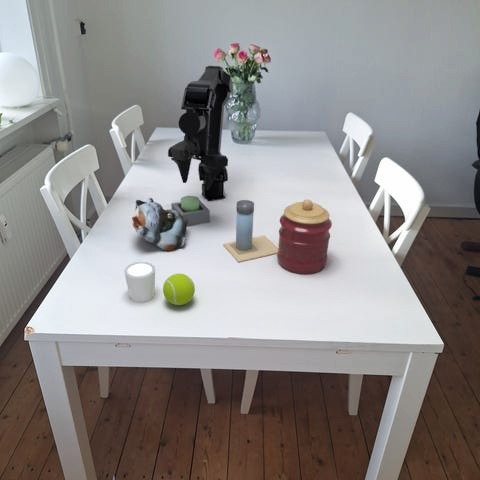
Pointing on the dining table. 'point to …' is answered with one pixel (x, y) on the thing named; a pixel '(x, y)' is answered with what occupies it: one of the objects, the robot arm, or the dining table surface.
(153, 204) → the lucky cat figurine
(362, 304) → the dining table surface
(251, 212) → the water bottle
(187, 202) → the button
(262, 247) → the kraft sheet
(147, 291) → the white cylinder
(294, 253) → the canister
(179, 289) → the tennis ball
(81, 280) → the dining table surface
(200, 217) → the button box
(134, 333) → the dining table surface
